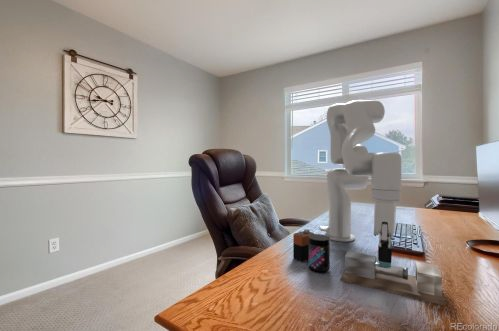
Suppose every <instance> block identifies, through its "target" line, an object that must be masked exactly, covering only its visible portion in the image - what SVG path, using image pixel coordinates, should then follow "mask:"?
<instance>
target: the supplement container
mask: <svg viewBox="0 0 499 331" xmlns="http://www.w3.org/2000/svg"><path fill="white" fill-rule="evenodd" d="M330 259H331V240H330V237H328V236H326V235H325V234H322V233H314V234H312V235H309V236H308V260H307V265H308V266H307V267H308V269H309V271H311V272H312V273H315V274H326V273H328V272H329V271H330V267H331V266H330V264H331V261H330Z"/></svg>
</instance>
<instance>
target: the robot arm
mask: <svg viewBox="0 0 499 331" xmlns="http://www.w3.org/2000/svg"><path fill="white" fill-rule="evenodd" d="M385 111H386V110H385V106H384V105H383V103H382V102H381V101H380V100H378V99H377V100H376V99H375V100H373V99H372V100H371V99H369V100H362V99H358V100H351V101H348V102H346V103H335V104H332V105H330V106H329V107H328V109H327V111H326V123H327V127H328V130H329V134H330V162H331V163H332V164H333V165H334V166H335V165H336V166H344V167H342V168H341V167H336V168H331V169H330V170H329V171H328V172H327V174H326V181H327V182H326V183H327V188H328V226H327V225H326V226H324V225H320V226H319V228H318V229H319V231H320V232H325V233H324V235H326V236H328V237H330V241H336V242H342V243H344V242H348V243H349V242H352V241H354V240H355V235H354V234H352V199H351V197H350V195H349V194H348V192H347V191H346V190H364V189H366V188H367V187H368V184H369V177H370V178H371V184H370V185H371V186H370V188H371V190H370V192H371V193H370V194H371V195H370V198H371V199H370V200H371V201H374V207H373V208H374V211H373V235H374V236H375V237H377V236H378V246H377V247H378V249H377V256H378V257H377V261H378V262H379V261H381V262H386V263H391V264H392V256H393V254H392V253H393V243H392V239H393V238H394V234H395V230H396V220H397V219H396V218H397V217H396V216H397V203H401V202H402V164H403V163H402V155H401V154H400V153H399V152H395V151H394V152H393V151H392V152H387V151H385V152H369V150H368V148H367V147H366V146H365V145H364V144H363V143H365V142H366V141H369V140H371V138H372V137H374V135H375V134H376V127H375V124H377V123H380V122H382V120H383V119H384V117H385V113H386V112H385ZM387 239H388V240H387ZM390 244H391V248H390Z"/></svg>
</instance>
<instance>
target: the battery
mask: <svg viewBox="0 0 499 331" xmlns="http://www.w3.org/2000/svg"><path fill="white" fill-rule="evenodd" d="M312 234H315V233H314V232H311V230H310V229H307V228H305V229H303V230H302V231H301V230H300V231H298V232H295V233H293V235H292V236H293V238H292V239H293V245H292V246H293V250H292V252H293V255H292V256H293V259H294V260H296V261H298V262H301V263H303V262H308V236H309V235H312Z"/></svg>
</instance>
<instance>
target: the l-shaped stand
mask: <svg viewBox="0 0 499 331" xmlns="http://www.w3.org/2000/svg"><path fill="white" fill-rule="evenodd" d="M387 240H388V239H387ZM390 248H391V244H390ZM408 269H409V268H408V267H404V266H397V265H392V262H391V263H386V262H381V261H379V260H378V262H377V261H376V262H375V273H378V274H383V275H387V276H392V277H397V278H401V279H405V280H408V275H409V270H408Z"/></svg>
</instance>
